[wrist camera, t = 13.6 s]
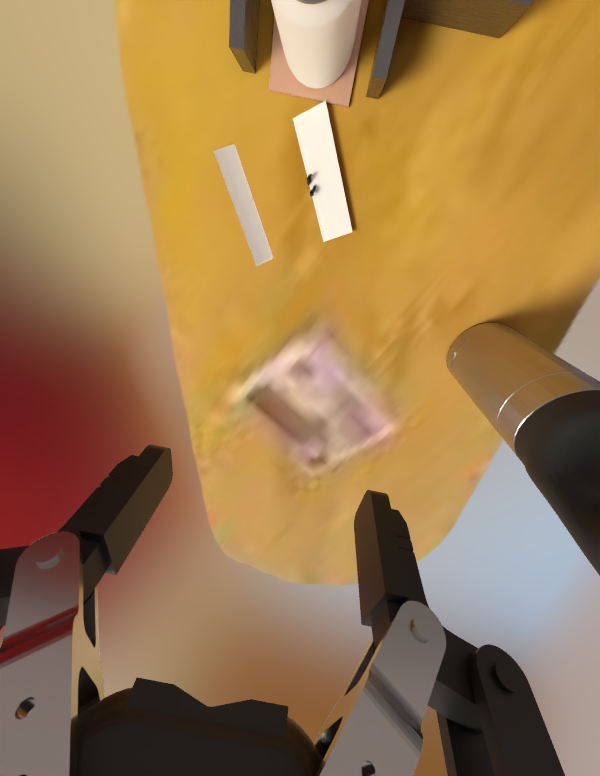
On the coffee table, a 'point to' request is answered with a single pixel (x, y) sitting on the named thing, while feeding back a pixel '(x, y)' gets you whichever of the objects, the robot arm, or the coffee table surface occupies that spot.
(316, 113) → the white strips
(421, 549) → the coffee table surface
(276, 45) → the pad
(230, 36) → the guide rails
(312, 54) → the can
